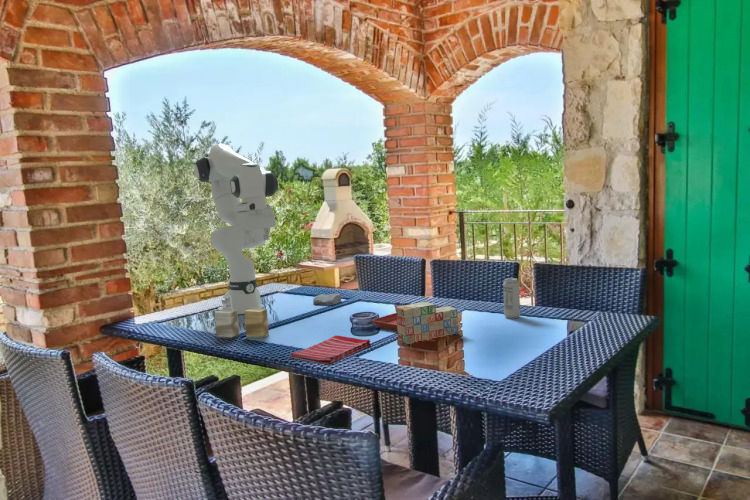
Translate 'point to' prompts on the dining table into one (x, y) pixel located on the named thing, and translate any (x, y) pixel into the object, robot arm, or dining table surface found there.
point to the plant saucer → (387, 322)
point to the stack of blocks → (425, 322)
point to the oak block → (256, 323)
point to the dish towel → (332, 349)
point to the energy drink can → (511, 298)
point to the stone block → (327, 299)
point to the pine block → (227, 324)
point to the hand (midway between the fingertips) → (259, 241)
